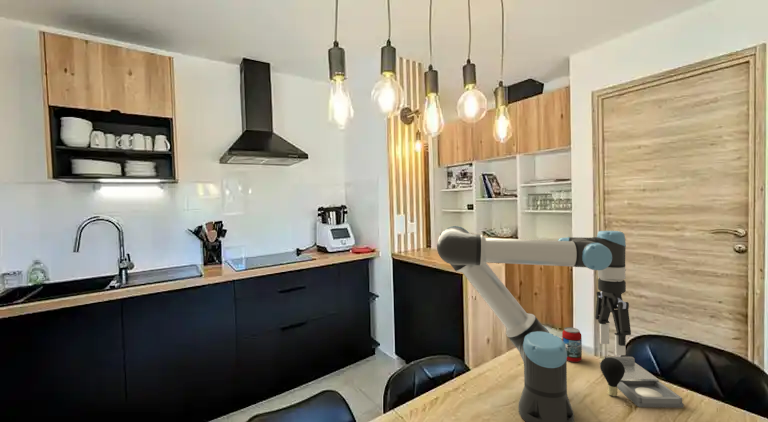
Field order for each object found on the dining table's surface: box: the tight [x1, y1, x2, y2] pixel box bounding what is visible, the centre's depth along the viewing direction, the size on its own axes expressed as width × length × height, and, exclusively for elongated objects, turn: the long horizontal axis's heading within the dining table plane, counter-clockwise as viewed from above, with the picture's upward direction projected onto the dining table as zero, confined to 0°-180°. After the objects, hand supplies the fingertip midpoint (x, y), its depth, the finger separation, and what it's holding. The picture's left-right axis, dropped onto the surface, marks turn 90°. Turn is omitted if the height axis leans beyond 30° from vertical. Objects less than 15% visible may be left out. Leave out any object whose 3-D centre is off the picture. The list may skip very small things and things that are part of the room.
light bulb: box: [599, 357, 625, 397], centre depth 114 cm, size 7×7×12 cm
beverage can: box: [561, 326, 583, 363], centre depth 140 cm, size 7×7×12 cm
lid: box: [599, 355, 660, 382], centre depth 123 cm, size 13×12×3 cm
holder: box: [617, 380, 684, 409], centre depth 116 cm, size 13×18×3 cm
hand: (612, 348), depth 114 cm, fingers open, 8 cm apart
